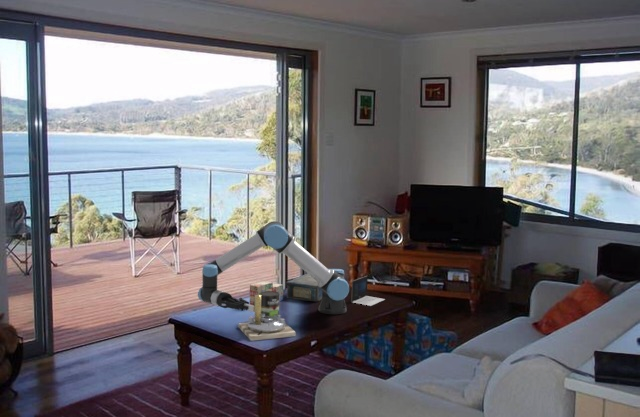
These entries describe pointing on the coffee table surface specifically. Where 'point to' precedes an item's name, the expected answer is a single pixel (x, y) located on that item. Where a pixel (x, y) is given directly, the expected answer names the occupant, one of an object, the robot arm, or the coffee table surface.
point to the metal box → (304, 288)
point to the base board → (261, 336)
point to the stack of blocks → (263, 287)
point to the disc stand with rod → (265, 320)
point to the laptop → (362, 293)
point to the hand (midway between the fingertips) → (254, 309)
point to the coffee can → (269, 303)
